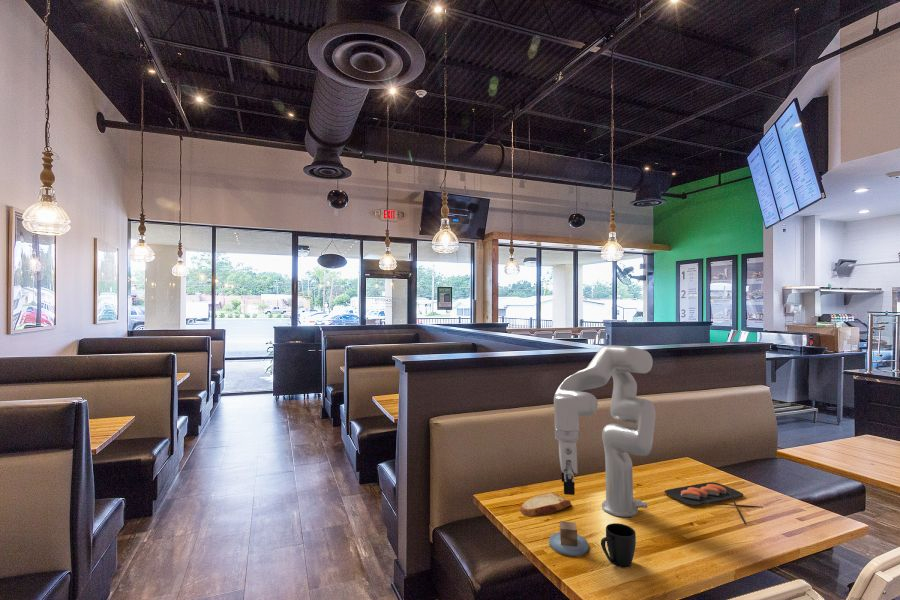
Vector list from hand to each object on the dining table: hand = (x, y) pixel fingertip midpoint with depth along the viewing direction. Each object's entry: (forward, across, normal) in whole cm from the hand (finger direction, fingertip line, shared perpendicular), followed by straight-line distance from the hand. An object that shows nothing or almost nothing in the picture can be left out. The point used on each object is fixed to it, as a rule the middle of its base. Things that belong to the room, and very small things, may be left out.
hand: (567, 487), depth 136 cm
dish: (+18, 0, 0) cm, 18 cm away
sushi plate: (+19, +40, -60) cm, 75 cm away
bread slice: (+19, +26, +6) cm, 33 cm away
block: (+17, 0, 0) cm, 17 cm away
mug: (+18, -8, -13) cm, 24 cm away
